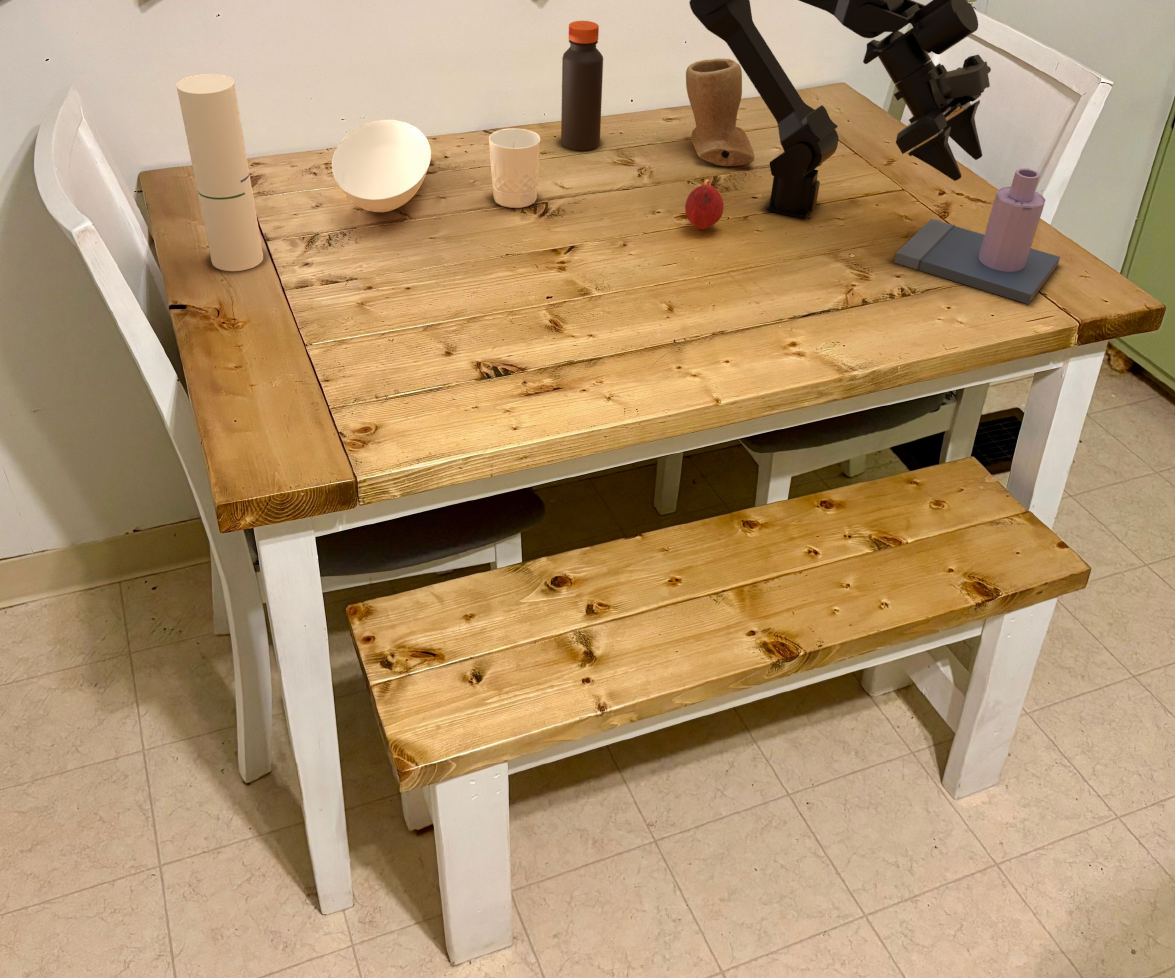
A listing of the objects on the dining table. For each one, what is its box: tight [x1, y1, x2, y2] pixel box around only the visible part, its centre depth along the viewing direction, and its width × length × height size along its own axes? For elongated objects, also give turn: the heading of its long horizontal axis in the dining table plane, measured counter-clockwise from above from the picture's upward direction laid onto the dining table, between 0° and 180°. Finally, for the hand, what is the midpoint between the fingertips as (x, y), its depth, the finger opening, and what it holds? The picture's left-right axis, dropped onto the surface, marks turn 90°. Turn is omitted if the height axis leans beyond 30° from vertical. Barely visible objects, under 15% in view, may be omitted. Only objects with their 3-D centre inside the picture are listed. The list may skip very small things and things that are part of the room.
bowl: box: [331, 119, 432, 213], centre depth 176 cm, size 30×15×6 cm, turn 4°
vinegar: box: [560, 20, 604, 152], centre depth 189 cm, size 7×7×20 cm
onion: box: [684, 178, 725, 231], centre depth 169 cm, size 6×6×8 cm
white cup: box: [488, 127, 542, 209], centre depth 175 cm, size 8×8×10 cm
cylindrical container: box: [175, 73, 264, 272], centre depth 152 cm, size 7×7×25 cm
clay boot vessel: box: [685, 58, 756, 167], centre depth 190 cm, size 15×12×15 cm
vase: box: [979, 168, 1046, 272], centre depth 160 cm, size 7×7×14 cm
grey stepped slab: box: [894, 218, 1061, 305], centre depth 166 cm, size 20×14×2 cm
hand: (969, 168), depth 160 cm, fingers open, 9 cm apart
